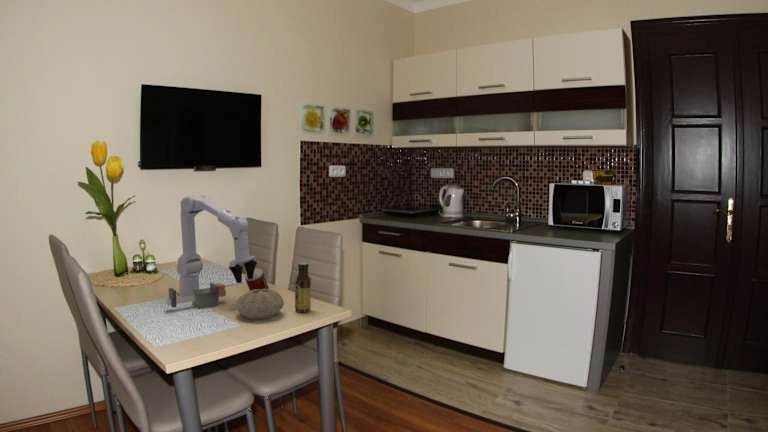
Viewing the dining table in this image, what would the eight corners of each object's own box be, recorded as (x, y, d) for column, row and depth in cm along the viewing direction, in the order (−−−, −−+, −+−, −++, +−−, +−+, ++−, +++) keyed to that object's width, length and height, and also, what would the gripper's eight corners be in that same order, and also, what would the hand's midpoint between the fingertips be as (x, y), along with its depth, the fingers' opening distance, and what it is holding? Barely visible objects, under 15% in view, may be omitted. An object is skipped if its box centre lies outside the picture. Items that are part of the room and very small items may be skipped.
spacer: (214, 289, 202) (213, 283, 202) (221, 288, 204) (220, 282, 204) (217, 292, 199) (217, 286, 199) (224, 291, 201) (224, 284, 201)
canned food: (265, 299, 208) (257, 279, 202) (249, 298, 210) (241, 279, 204) (272, 287, 214) (265, 268, 208) (256, 286, 216) (248, 268, 210)
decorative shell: (227, 315, 187) (227, 290, 185) (265, 305, 200) (265, 282, 199) (254, 326, 175) (254, 300, 174) (293, 315, 189) (293, 290, 188)
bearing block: (192, 304, 199) (192, 285, 198) (212, 301, 204) (211, 282, 203) (199, 308, 193) (198, 288, 192) (218, 305, 199) (218, 285, 198)
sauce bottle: (295, 308, 197) (296, 261, 195) (311, 308, 198) (311, 261, 195) (294, 313, 191) (294, 264, 188) (310, 313, 191) (310, 264, 189)
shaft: (165, 305, 190) (165, 289, 190) (222, 295, 205) (222, 280, 205) (169, 308, 187) (169, 291, 186) (227, 298, 202) (226, 283, 201)
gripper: (238, 250, 189) (242, 284, 190) (260, 245, 203) (263, 277, 204) (223, 251, 192) (227, 284, 193) (246, 245, 205) (249, 277, 206)
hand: (244, 280), depth 198 cm, fingers open, 7 cm apart
